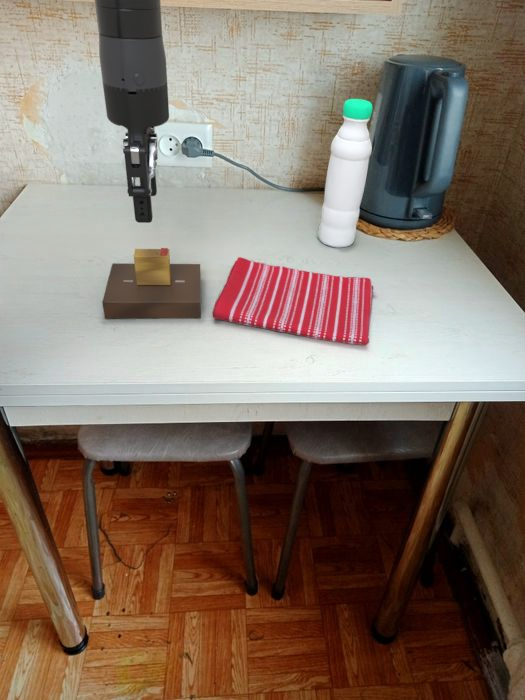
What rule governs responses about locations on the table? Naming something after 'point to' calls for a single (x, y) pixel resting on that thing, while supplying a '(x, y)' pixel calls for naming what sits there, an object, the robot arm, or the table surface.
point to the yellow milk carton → (152, 266)
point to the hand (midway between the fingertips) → (146, 207)
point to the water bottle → (346, 175)
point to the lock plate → (153, 294)
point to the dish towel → (297, 302)
